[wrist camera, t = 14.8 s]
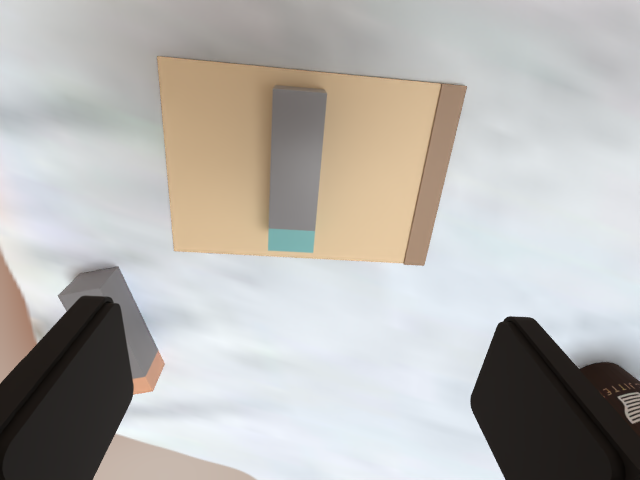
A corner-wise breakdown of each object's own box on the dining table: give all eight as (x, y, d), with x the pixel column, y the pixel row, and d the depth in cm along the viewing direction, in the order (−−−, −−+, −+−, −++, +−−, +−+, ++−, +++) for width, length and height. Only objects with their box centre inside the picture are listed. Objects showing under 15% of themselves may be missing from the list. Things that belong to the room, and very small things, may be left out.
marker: (275, 84, 23) (272, 88, 21) (323, 89, 24) (327, 93, 21) (270, 231, 28) (267, 250, 25) (311, 234, 28) (313, 252, 25)
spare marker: (80, 273, 29) (57, 295, 26) (118, 266, 29) (99, 288, 26) (131, 369, 33) (116, 397, 30) (164, 363, 33) (152, 391, 30)
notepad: (158, 56, 23) (155, 56, 22) (464, 85, 24) (467, 86, 24) (175, 249, 28) (173, 252, 28) (422, 262, 30) (424, 265, 29)
